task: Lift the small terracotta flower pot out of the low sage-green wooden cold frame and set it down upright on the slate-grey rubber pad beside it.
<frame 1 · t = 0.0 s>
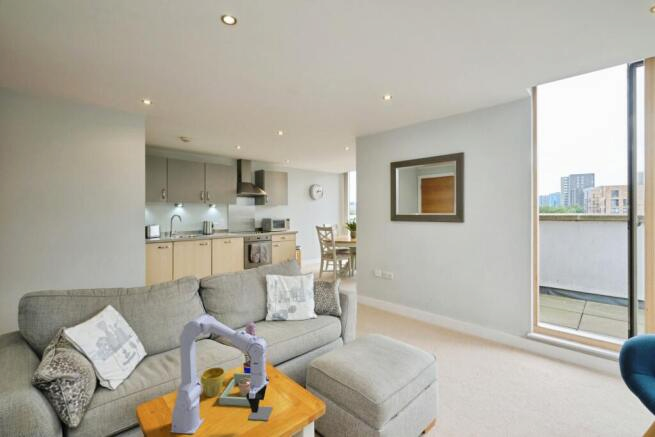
hand: (258, 405, 115), 10 cm above the table, fingers open, 7 cm apart
plant pot: (213, 393, 140), on the table
terracotta pot: (244, 387, 139), in the cold frame
hyacinth: (251, 376, 155), on the table
slate pad: (261, 413, 125), on the table
robot toy: (182, 407, 131), on the table
cold frame: (244, 393, 140), on the table
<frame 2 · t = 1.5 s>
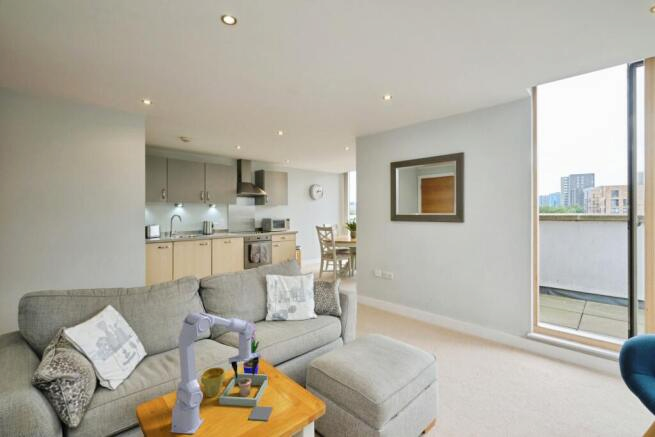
hand: (244, 375, 139), 9 cm above the table, fingers open, 7 cm apart
nothing on the table moved.
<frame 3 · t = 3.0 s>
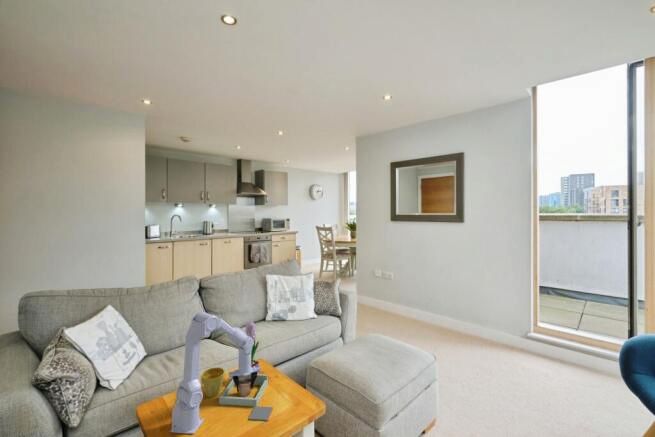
hand: (244, 389, 140), 2 cm above the table, fingers closed on terracotta pot, 6 cm apart
terracotta pot: (244, 387, 139), resting in cold frame, touching gripper
everything else where it was.
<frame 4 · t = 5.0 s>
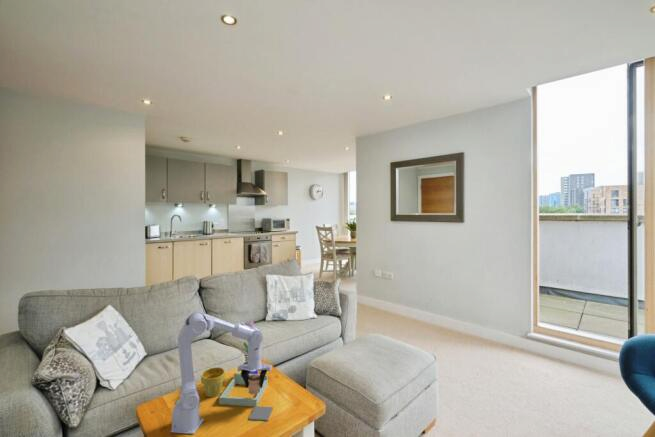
hand: (254, 386, 131), 8 cm above the table, fingers closed on terracotta pot, 6 cm apart
terracotta pot: (254, 384, 131), point 9 cm above the table, touching gripper
everything else where it was.
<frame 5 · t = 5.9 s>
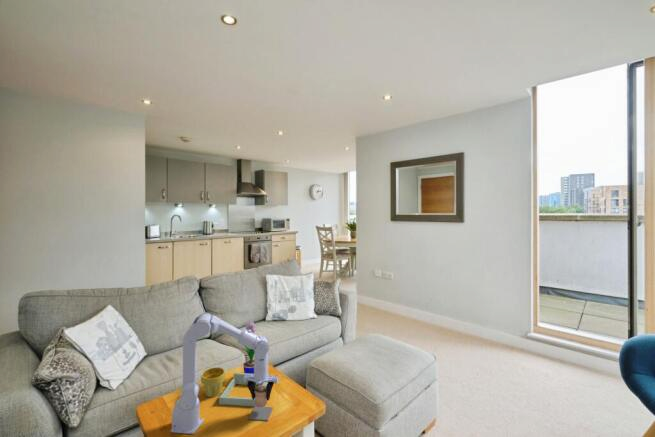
hand: (261, 398, 125), 6 cm above the table, fingers closed on terracotta pot, 6 cm apart
terracotta pot: (261, 396, 126), point 7 cm above the table, touching gripper
everything else where it was.
when the fingers open (4 cm above the table, at t = 6.9 s): terracotta pot drops 1 cm, resting on slate pad.
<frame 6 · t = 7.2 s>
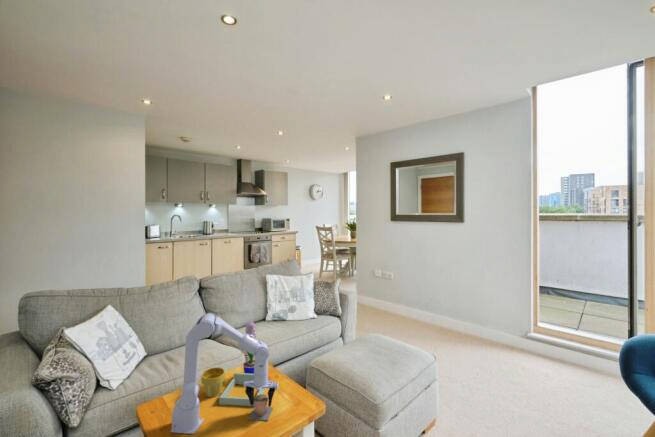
hand: (261, 404, 125), 4 cm above the table, fingers open, 7 cm apart
terracotta pot: (260, 405, 126), on the slate pad
everything else where it was.
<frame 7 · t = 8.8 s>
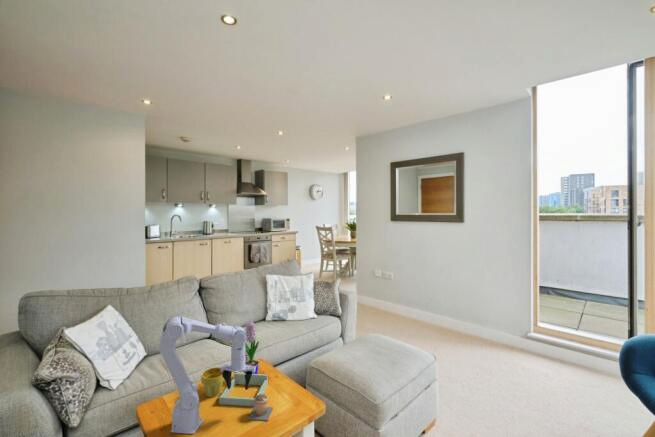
hand: (238, 388, 126), 10 cm above the table, fingers open, 7 cm apart
nothing on the table moved.
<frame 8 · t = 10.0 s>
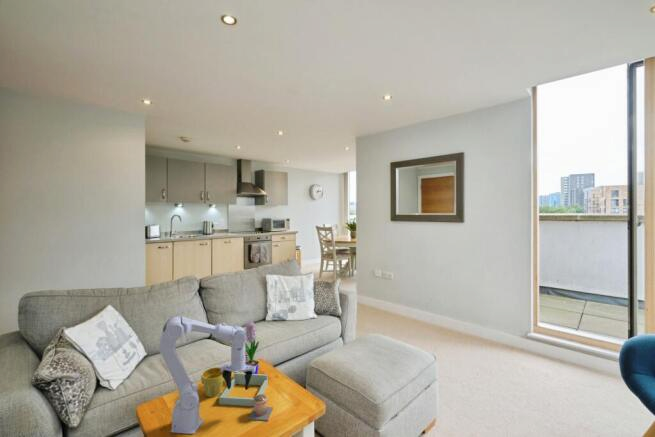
hand: (238, 388, 126), 10 cm above the table, fingers open, 7 cm apart
nothing on the table moved.
at the end: terracotta pot 0.3 cm off-centre on the slate pad, point 3.6 cm above the slate pad's base; terracotta pot tilted 2°; terracotta pot touching slate pad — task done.
